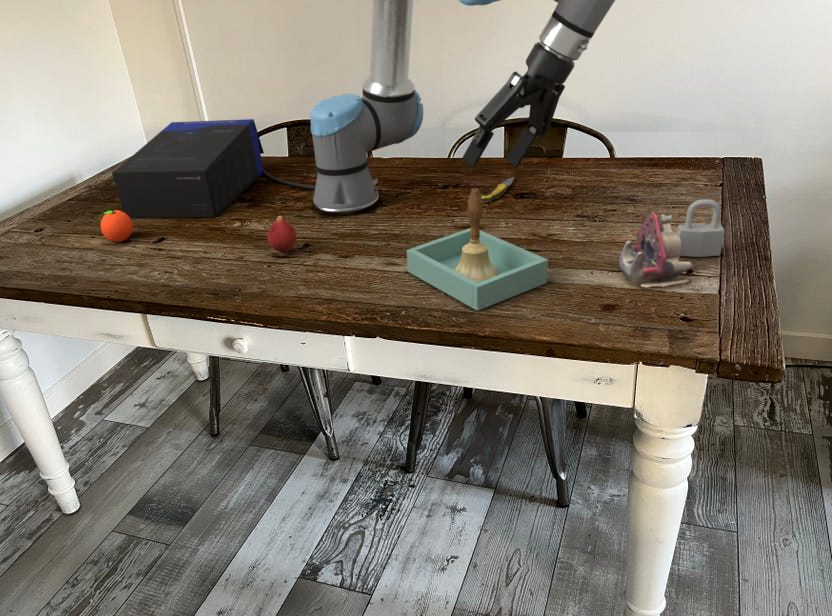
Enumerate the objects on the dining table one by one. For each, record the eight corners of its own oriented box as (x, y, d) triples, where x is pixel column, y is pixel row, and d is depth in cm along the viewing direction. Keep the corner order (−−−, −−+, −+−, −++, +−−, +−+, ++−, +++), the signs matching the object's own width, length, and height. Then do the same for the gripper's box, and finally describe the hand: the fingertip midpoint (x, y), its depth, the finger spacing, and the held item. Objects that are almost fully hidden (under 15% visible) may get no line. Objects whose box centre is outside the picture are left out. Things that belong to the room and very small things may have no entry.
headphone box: (267, 169, 203) (259, 115, 195) (215, 217, 174) (202, 157, 167) (186, 170, 209) (175, 118, 202) (123, 217, 181) (107, 159, 174)
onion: (277, 261, 149) (270, 224, 145) (266, 252, 153) (260, 216, 149) (303, 253, 151) (297, 216, 147) (292, 245, 155) (286, 208, 151)
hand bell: (471, 261, 139) (469, 178, 130) (507, 272, 134) (508, 186, 125) (442, 277, 134) (438, 192, 126) (479, 289, 129) (478, 201, 121)
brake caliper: (597, 252, 132) (644, 195, 127) (642, 280, 135) (689, 226, 130) (622, 280, 122) (673, 219, 117) (670, 309, 126) (721, 251, 121)
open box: (407, 271, 139) (406, 250, 137) (473, 248, 145) (472, 226, 142) (477, 310, 123) (477, 287, 121) (547, 282, 129) (548, 259, 127)
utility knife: (506, 173, 176) (518, 174, 174) (506, 178, 176) (518, 179, 175) (479, 197, 164) (492, 198, 163) (479, 202, 165) (492, 203, 164)
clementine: (95, 245, 167) (86, 215, 163) (113, 233, 172) (105, 204, 169) (124, 247, 164) (116, 217, 160) (142, 235, 170) (134, 205, 166)
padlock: (677, 257, 132) (685, 204, 127) (674, 248, 135) (681, 195, 130) (721, 257, 131) (730, 203, 125) (716, 248, 134) (725, 194, 129)
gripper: (532, 54, 112) (463, 174, 124) (608, 70, 129) (541, 174, 142) (498, 29, 115) (434, 149, 128) (577, 48, 132) (514, 152, 145)
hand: (490, 162), depth 135 cm, fingers open, 13 cm apart
